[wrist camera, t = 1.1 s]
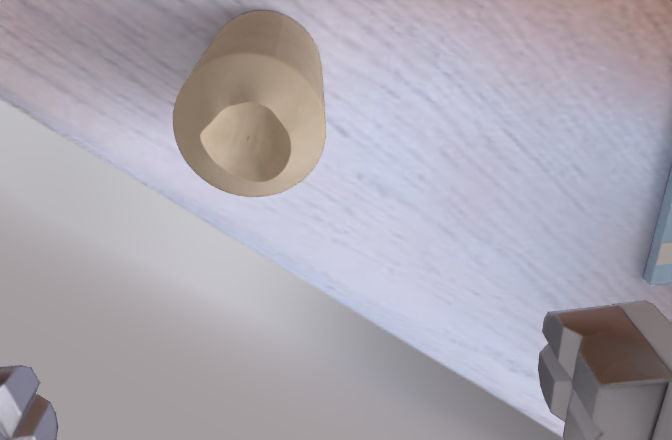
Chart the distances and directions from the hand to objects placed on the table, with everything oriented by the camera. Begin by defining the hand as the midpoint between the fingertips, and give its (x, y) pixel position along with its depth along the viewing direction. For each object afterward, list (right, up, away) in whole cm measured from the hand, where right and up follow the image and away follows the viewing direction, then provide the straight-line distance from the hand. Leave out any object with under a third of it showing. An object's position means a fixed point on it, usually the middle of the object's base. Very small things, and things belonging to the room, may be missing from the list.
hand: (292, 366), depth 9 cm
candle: (-3, +10, +18) cm, 21 cm away
